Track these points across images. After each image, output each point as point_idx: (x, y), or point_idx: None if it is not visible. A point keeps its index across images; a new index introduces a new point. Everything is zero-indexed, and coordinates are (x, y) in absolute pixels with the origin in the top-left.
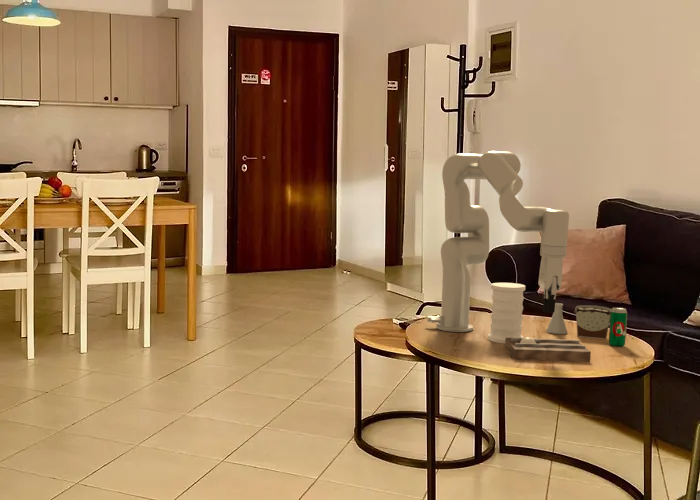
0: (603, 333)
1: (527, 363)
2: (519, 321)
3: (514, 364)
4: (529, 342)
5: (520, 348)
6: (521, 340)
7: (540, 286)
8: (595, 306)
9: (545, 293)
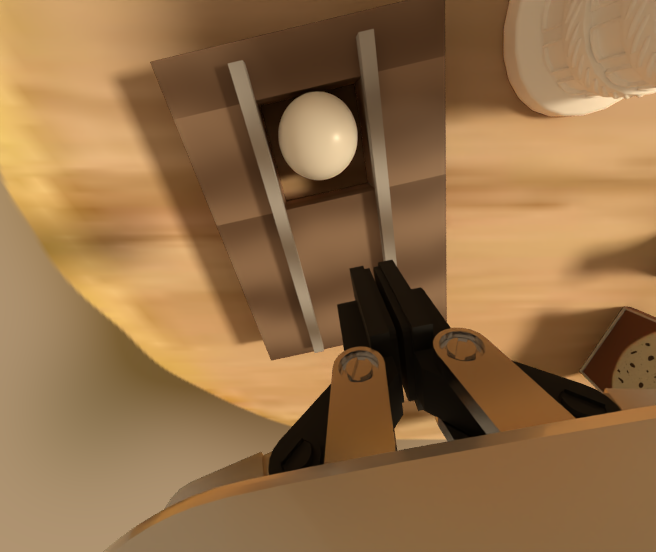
0: (598, 376)
1: (131, 140)
2: (642, 70)
3: (69, 76)
4: (284, 146)
5: (185, 97)
6: (310, 99)
7: (586, 424)
8: None
9: (457, 384)
